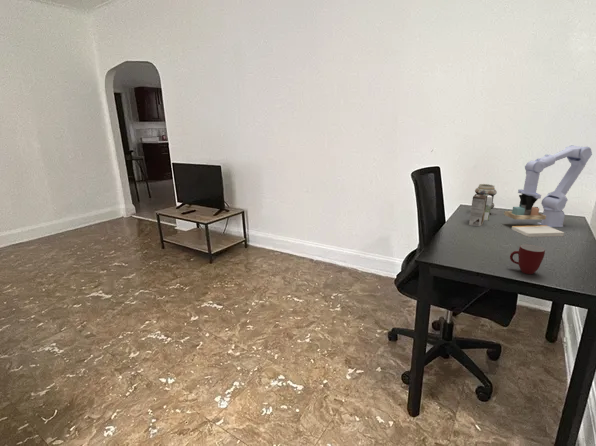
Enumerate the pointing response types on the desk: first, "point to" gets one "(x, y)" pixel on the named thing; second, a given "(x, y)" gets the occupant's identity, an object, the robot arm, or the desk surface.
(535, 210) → the block
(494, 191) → the stone pedestal urn
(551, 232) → the dock
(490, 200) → the syrup box
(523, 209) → the light teal cube
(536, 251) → the mug
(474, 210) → the coffee box
